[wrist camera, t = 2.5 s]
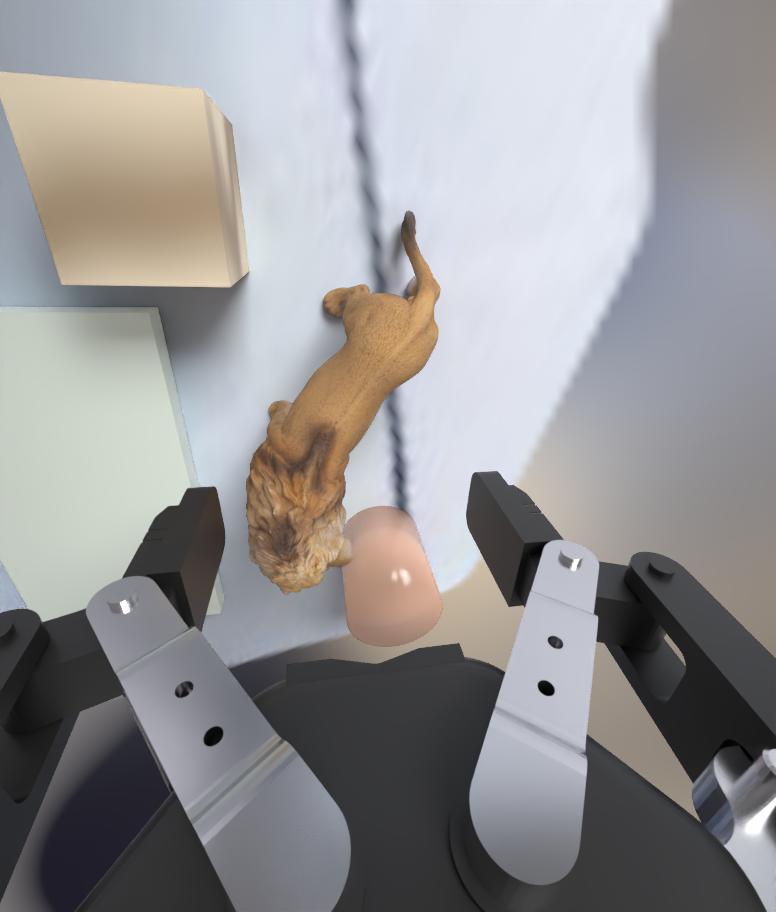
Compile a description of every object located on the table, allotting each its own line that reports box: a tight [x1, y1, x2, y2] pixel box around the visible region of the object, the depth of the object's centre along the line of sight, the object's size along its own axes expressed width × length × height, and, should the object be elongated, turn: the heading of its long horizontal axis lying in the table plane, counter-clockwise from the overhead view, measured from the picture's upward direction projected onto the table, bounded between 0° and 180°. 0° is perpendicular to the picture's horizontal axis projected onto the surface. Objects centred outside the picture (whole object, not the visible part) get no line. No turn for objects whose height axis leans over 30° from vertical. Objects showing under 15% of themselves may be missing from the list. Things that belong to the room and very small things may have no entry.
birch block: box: [0, 71, 249, 287], centre depth 14 cm, size 5×5×5 cm
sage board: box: [0, 307, 225, 622], centre depth 21 cm, size 18×10×1 cm, turn 178°
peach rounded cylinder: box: [342, 506, 443, 647], centre depth 24 cm, size 5×5×6 cm
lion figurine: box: [246, 211, 440, 595], centre depth 17 cm, size 15×5×9 cm, turn 155°
